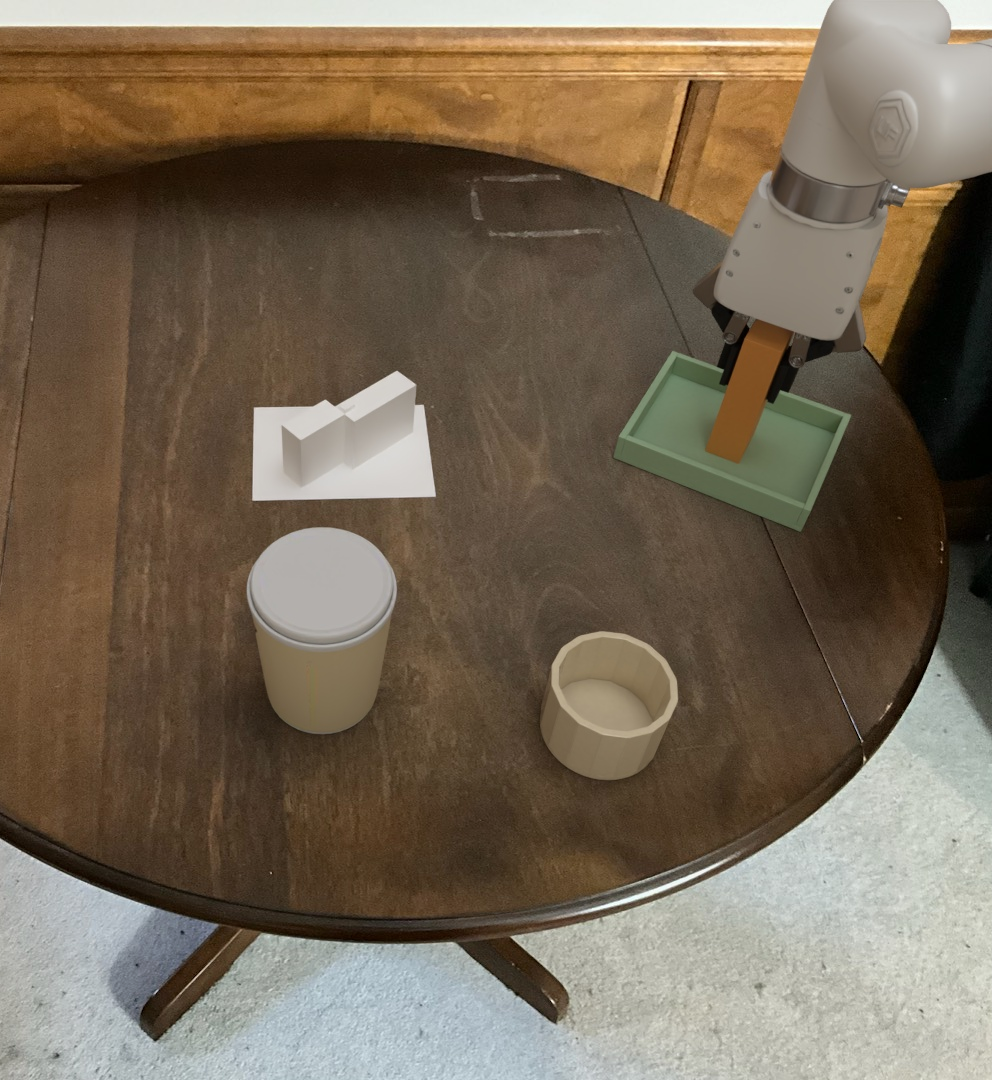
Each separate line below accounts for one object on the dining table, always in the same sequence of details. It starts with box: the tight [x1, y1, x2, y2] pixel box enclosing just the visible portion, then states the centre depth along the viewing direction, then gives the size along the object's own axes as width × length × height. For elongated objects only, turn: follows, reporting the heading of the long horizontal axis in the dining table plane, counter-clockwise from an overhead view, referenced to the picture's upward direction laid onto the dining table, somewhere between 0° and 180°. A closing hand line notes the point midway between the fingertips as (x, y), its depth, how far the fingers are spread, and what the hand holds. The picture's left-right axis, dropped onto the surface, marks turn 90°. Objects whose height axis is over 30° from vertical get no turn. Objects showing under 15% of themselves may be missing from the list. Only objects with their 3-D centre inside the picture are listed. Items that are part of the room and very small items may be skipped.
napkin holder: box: [251, 370, 437, 502], centre depth 91 cm, size 15×11×6 cm
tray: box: [612, 350, 852, 533], centre depth 95 cm, size 16×13×2 cm
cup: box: [539, 630, 679, 781], centre depth 74 cm, size 8×8×6 cm
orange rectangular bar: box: [705, 318, 795, 464], centre depth 91 cm, size 3×4×12 cm, turn 150°
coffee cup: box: [246, 526, 398, 735], centre depth 73 cm, size 9×9×12 cm
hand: (751, 383), depth 90 cm, fingers open, 3 cm apart
